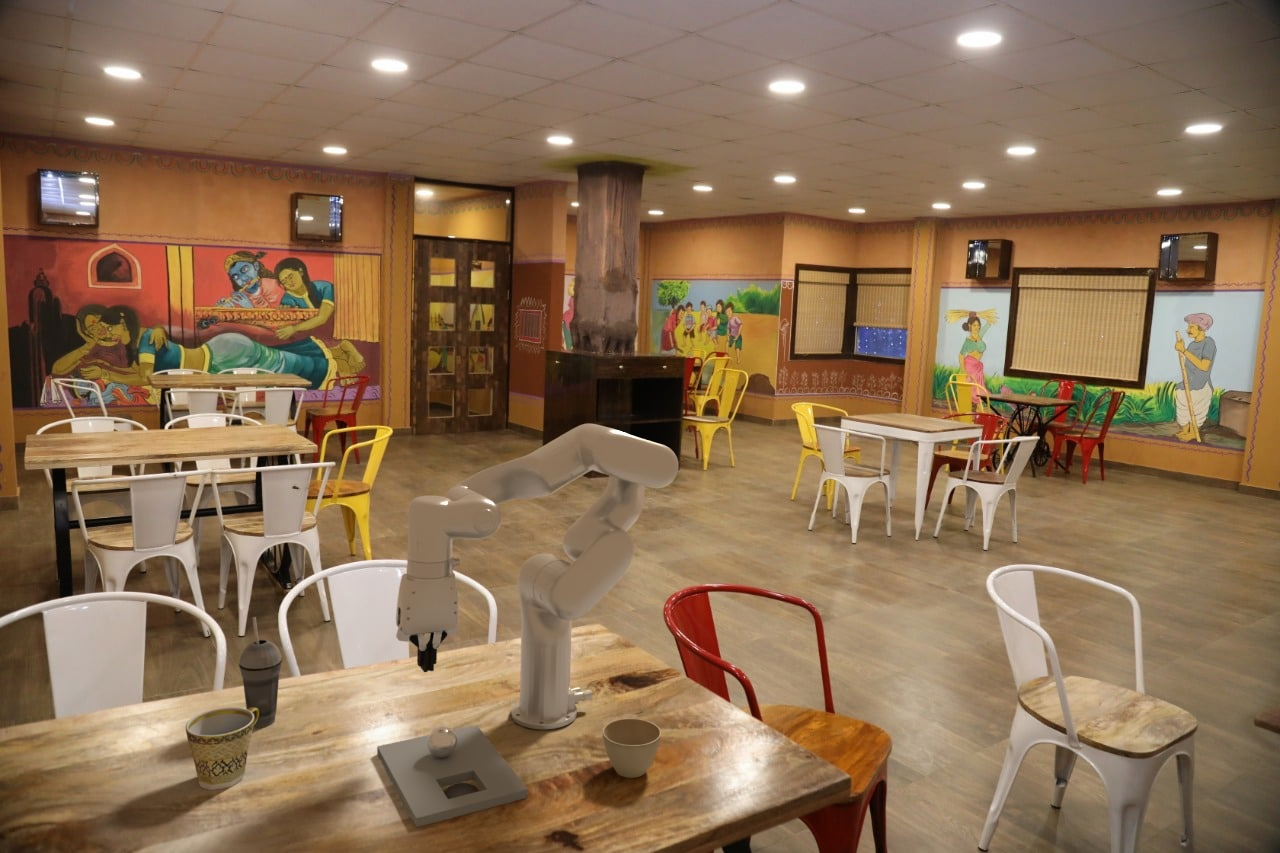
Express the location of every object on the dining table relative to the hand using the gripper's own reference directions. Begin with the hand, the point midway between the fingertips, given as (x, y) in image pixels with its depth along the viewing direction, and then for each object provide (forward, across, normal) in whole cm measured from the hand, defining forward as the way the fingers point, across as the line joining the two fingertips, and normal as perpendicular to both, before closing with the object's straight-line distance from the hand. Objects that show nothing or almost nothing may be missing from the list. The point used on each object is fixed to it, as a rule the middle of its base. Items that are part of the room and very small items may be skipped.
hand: (426, 668), depth 153 cm
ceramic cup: (+15, +31, -5) cm, 35 cm away
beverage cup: (+15, +24, -22) cm, 36 cm away
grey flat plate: (+14, -1, +11) cm, 18 cm away
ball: (+10, -1, +7) cm, 13 cm away
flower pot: (+14, -29, +23) cm, 40 cm away
